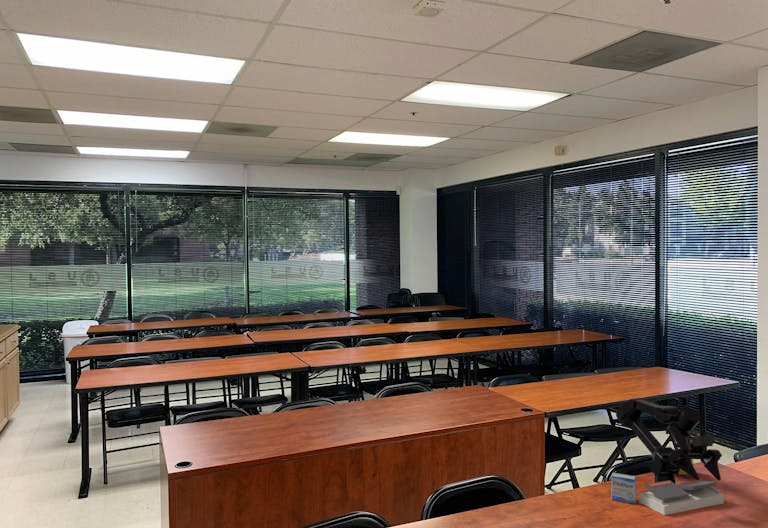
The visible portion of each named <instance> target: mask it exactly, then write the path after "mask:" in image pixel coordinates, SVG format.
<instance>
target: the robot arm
mask: <svg viewBox="0 0 768 528" xmlns="http://www.w3.org/2000/svg"><path fill="white" fill-rule="evenodd" d="M643 413H645V414H647V415H650V416H652V417H654V418H655V420H656V421H658V422H659V423H661V424H663V425H664V424H669V425H667V426H666V429H665V434H666V435H671V437H672V438H673V440H674V441H675V444H674V447H675V448H672V447H671V446H666V447H665V446H663V445H662V444H661V443H660V441H659V440H658V439H657V438H656V436H654V434H653V433H652V432H651V431H650V429H649V428H648V427H647V426H646V425H645V424H644V423H643V421H642V415H643ZM615 415H616V419H617V421H618V422H620V424H621V425H622V426H624V427H626V428H627V429H631V431H632V432H633V433H634V434H635V436H636V437H637V438H638V439H639V440H640V441H641V443H643V445H644V446H645V448H646V449H647V450H648V452H650V454H651V456H652V462H651V464H649V471H650V473H653V474H654V483H657V482H663V481H669V480H670V481H672V482H673V483H674V484H676V479H675V475H676V474H679V471H680V469H682V470H683V471H685V472H686V473H687V474H686V475H688V476H690V477H692V479H694V480H696V481H697V480H698V481H700V477H699V474H698V472H697V470H696V469H695V467H694V464H693V465H692V463H691V459H692V460H699V461H700V462H701V463H702V464H703V467H704V468H705V469H706V470H707V471H708V472H709V473H710V474H711V475H712V476H713V477H714V479H716V480H717V481H721V480H722V478H721V474H720V473H721V472H720V469H719V464H718V463H719V461H720V460H721V458H722V457H723V455H722V453H721V452H720V450H718V449H715V448H714V449H713V448H711V449H709V448H708V449H707V450H706V448H707V447H713V446H714V445H713V444H715V439H714V437H713V436H712V435H711V434H710V433H708V434H704V435H698V436H695V435H694V436H693V435H692V434H691V432H690V431H692V430H694V428H695V427H696V426H697V425H698V424H699V423H700V421H702V417H701V414H700V412H698V411H696V410H695V409H694V408H691V407H690V406H689V405H683V406H682V407H681V410H680V409H679V407H677V406H672V405H671V406H670V405H661V404H657V403H654V402H650V401H648V400H645V399H643V398H640V397H639V398H637V397H636V398H631V399H629V400H628V401H627V402H626V403H625V404H623V405H621V406H620V407H619V408H618V409H617V411H616V413H615ZM673 449H675V450H673ZM705 450H706V451H705ZM704 451H705V452H704ZM703 452H704V453H703Z"/></svg>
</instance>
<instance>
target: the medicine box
mask: <svg viewBox="0 0 768 528" xmlns="http://www.w3.org/2000/svg"><path fill="white" fill-rule="evenodd" d="M610 478H611V480H610V481H611V483H610V485H611V489H610V490H611V491H610V492H611V493H610V494H611V497H610V498H611V501H612V502H614V501H615V502H619V503H625V504H632V505H636V502H637V476H636V475H629V474H624V473H618V472H617V473H616V472H612V473H611V477H610Z"/></svg>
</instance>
